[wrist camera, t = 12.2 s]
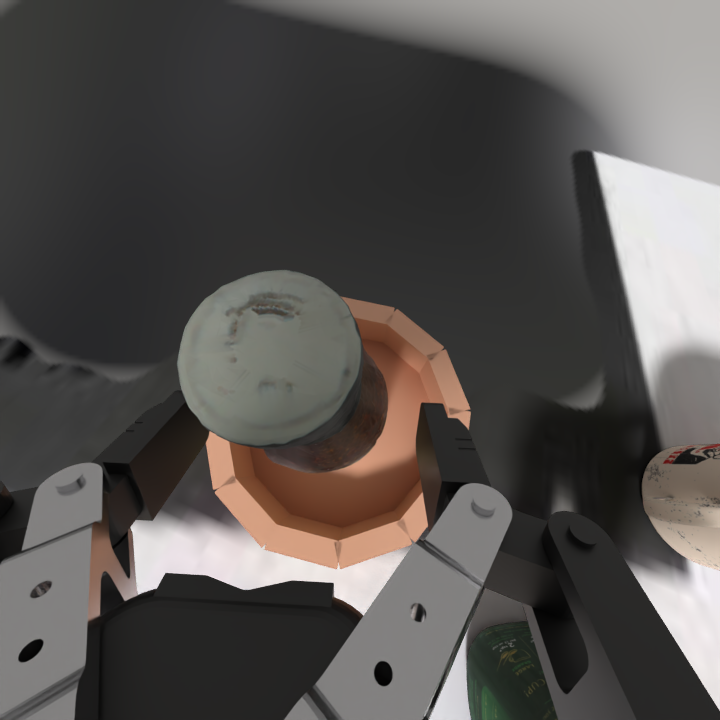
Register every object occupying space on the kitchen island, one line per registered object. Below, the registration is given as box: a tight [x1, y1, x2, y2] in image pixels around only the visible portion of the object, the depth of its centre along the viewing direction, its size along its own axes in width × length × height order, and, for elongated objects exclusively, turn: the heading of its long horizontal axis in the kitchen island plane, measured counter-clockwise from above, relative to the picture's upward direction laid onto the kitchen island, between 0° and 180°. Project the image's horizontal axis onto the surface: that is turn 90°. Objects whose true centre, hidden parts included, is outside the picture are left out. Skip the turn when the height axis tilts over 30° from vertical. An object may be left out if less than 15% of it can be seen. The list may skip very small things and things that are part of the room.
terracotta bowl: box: [206, 297, 471, 569], centre depth 24 cm, size 18×18×5 cm
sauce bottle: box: [177, 270, 388, 473], centre depth 16 cm, size 7×6×20 cm
